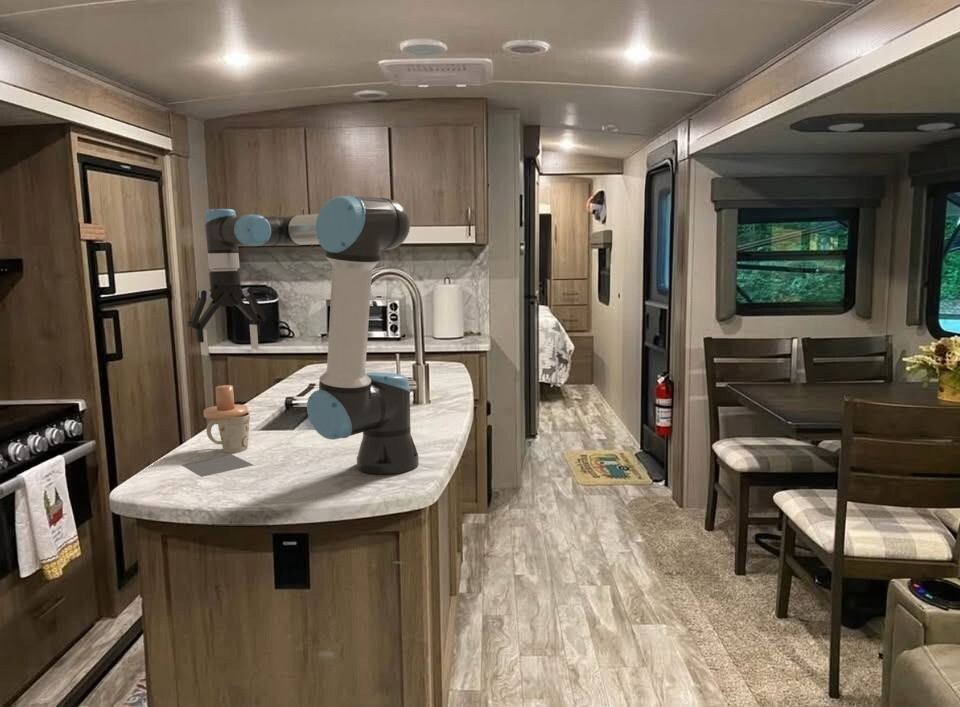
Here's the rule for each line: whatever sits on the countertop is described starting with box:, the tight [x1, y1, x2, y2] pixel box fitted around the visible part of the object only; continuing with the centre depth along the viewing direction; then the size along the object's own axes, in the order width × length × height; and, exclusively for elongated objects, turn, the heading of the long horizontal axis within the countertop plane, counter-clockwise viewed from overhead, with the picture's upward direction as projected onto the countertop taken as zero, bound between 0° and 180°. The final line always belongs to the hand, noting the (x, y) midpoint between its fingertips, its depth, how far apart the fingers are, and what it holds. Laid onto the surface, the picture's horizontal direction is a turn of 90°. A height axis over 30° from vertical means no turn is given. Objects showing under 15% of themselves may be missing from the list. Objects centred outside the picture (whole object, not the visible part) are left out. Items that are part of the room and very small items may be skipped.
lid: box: [203, 384, 249, 420], centre depth 197 cm, size 11×11×8 cm
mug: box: [206, 412, 251, 454], centre depth 198 cm, size 8×13×10 cm, turn 78°
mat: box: [181, 453, 254, 478], centre depth 184 cm, size 13×13×1 cm
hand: (230, 351), depth 194 cm, fingers open, 13 cm apart
